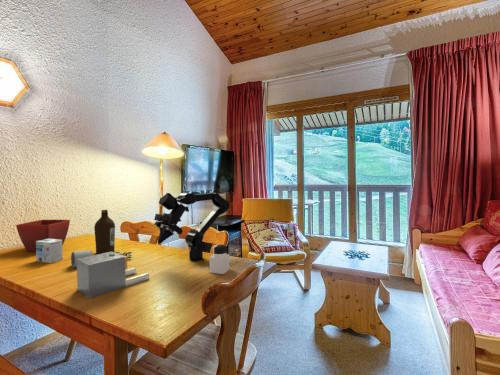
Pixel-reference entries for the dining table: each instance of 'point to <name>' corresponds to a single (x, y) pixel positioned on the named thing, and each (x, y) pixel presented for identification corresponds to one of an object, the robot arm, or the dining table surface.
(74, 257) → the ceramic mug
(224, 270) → the medicine bottle
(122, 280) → the box
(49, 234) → the plant pot
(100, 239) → the olive oil
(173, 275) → the dining table surface
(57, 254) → the light bulb box
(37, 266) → the dining table surface
